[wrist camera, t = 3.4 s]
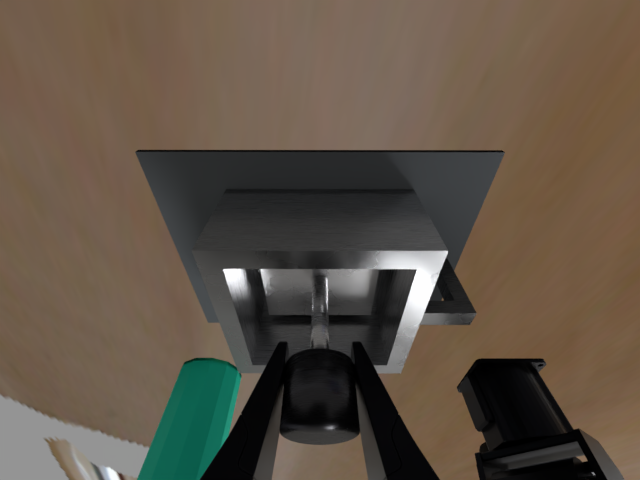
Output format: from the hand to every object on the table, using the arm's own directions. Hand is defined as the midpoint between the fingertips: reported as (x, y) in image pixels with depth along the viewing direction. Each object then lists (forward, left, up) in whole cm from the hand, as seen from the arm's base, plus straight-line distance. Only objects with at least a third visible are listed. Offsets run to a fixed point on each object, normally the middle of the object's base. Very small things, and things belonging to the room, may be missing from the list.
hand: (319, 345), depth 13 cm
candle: (+11, +16, -7) cm, 21 cm away
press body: (-1, 0, -6) cm, 6 cm away
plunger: (0, 0, -5) cm, 5 cm away
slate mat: (0, 0, -6) cm, 6 cm away
